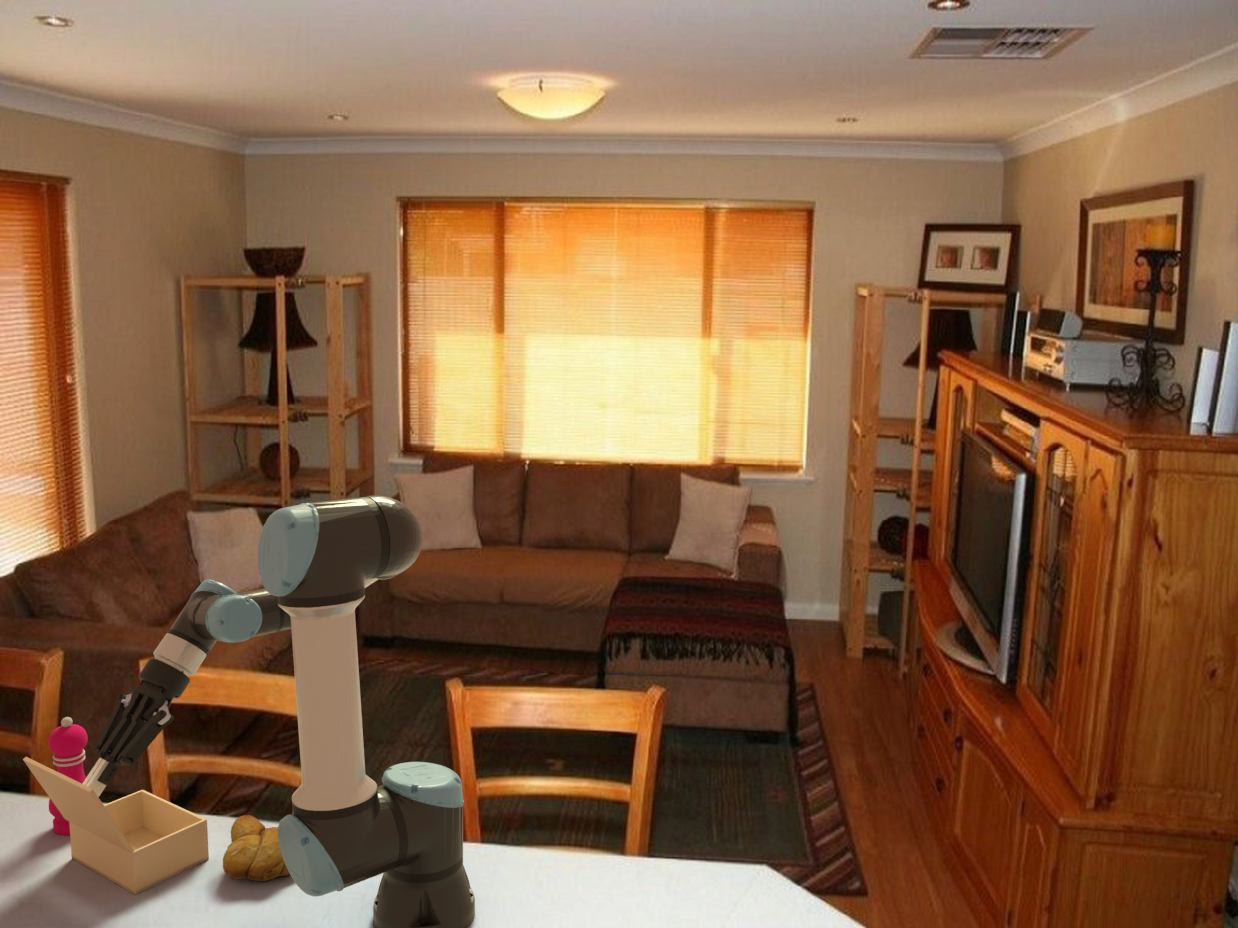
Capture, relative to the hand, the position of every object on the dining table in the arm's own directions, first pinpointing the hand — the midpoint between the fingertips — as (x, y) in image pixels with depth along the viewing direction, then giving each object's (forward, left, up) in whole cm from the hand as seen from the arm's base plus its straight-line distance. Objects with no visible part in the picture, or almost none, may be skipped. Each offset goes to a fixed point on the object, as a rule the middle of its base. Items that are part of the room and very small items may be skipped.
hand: (83, 800), depth 170 cm
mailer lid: (-1, +1, 0) cm, 1 cm away
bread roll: (-20, -18, -14) cm, 30 cm away
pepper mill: (+18, -8, -14) cm, 24 cm away
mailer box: (-1, -8, -13) cm, 16 cm away
